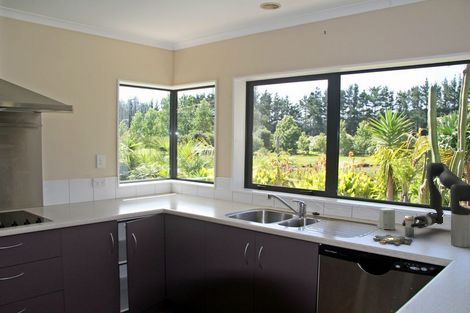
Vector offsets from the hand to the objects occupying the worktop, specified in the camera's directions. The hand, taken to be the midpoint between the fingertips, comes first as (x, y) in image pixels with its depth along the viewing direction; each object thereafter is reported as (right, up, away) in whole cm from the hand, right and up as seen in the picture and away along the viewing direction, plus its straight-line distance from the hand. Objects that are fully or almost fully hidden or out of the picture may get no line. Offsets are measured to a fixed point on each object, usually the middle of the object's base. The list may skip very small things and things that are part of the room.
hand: (407, 225), depth 230 cm
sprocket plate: (-13, -8, -9) cm, 17 cm away
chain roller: (+2, -7, +1) cm, 7 cm away
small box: (-4, -7, +22) cm, 24 cm away
